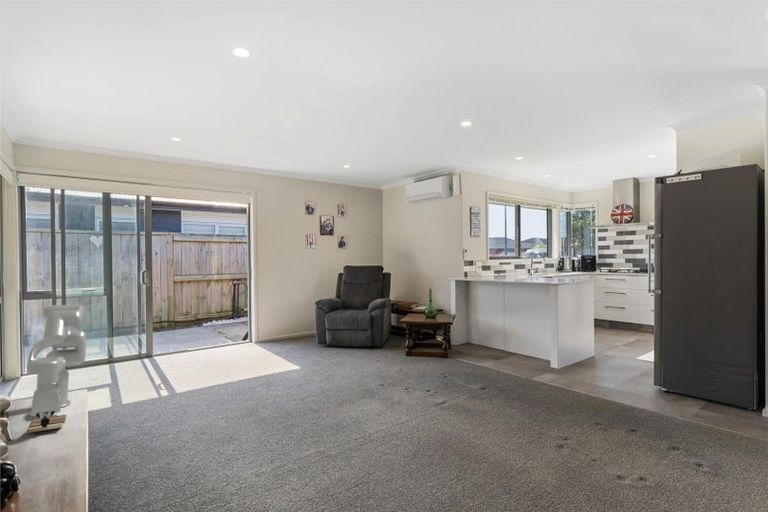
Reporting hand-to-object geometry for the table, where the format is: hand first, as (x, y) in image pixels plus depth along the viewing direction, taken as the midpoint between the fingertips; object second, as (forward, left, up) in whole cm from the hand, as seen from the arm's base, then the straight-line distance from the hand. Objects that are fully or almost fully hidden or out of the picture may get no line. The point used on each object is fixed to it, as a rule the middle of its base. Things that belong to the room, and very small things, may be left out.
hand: (44, 426), depth 182 cm
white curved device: (-31, -1, -5) cm, 32 cm away
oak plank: (-4, 0, -3) cm, 5 cm away
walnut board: (-17, 0, -4) cm, 17 cm away
